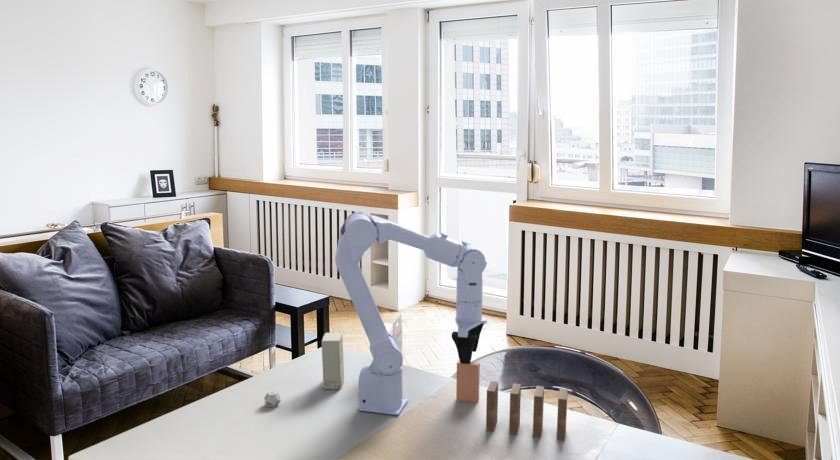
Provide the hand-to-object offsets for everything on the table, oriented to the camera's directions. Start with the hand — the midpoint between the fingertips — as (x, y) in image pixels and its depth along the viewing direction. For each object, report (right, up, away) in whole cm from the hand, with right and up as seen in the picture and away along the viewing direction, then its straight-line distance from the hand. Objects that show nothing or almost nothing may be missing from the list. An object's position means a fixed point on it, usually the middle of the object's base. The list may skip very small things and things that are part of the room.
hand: (468, 357), depth 151 cm
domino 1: (+4, -13, -10) cm, 17 cm away
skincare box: (-32, -9, +10) cm, 35 cm away
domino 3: (+13, -13, -13) cm, 23 cm away
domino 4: (+18, -13, -14) cm, 26 cm away
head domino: (0, -10, +2) cm, 10 cm away
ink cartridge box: (-19, -7, +17) cm, 26 cm away
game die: (-44, -11, 0) cm, 46 cm away
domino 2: (+9, -13, -12) cm, 19 cm away
